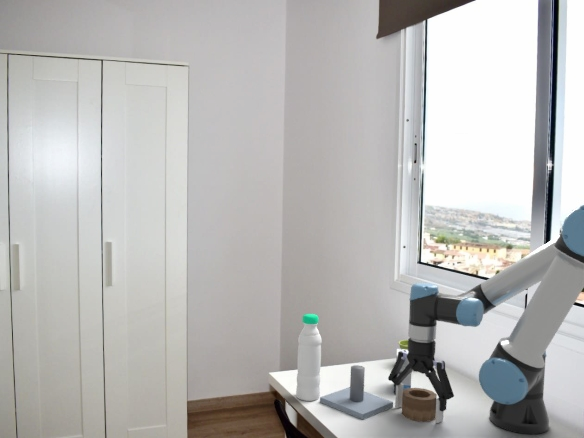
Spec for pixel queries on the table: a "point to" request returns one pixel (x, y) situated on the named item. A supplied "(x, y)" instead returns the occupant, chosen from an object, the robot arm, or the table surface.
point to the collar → (419, 404)
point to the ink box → (408, 379)
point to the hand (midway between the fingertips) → (418, 414)
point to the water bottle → (309, 360)
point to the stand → (356, 397)
